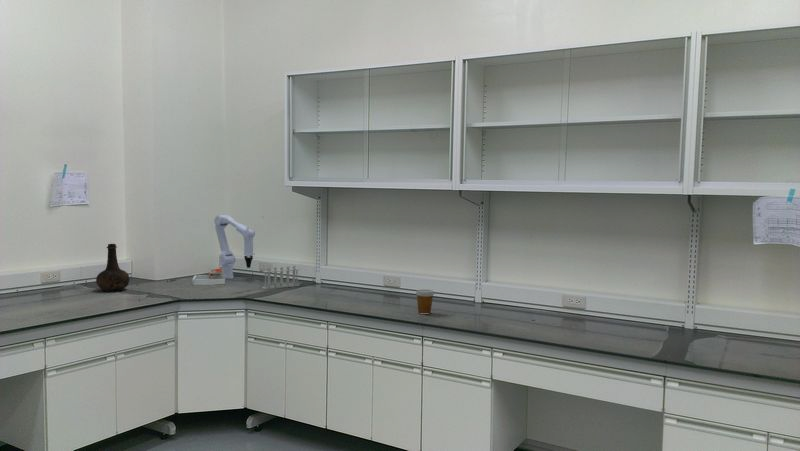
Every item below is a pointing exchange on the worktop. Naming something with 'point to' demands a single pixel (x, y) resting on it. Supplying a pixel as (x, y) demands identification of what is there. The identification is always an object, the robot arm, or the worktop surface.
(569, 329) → the worktop surface
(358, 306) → the worktop surface
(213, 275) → the medicine box
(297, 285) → the test tube rack
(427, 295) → the disposable coffee cup
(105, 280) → the glass bottle
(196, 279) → the bin
